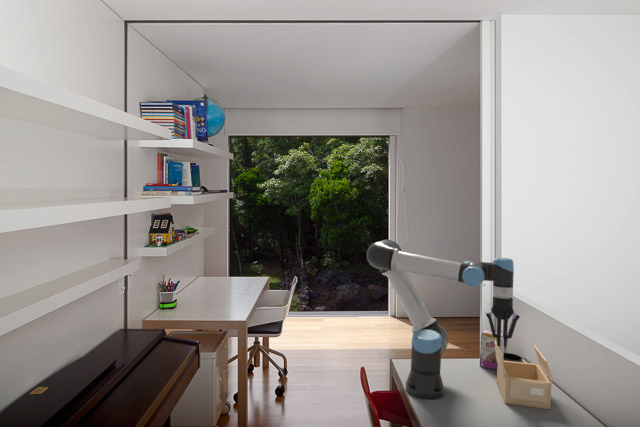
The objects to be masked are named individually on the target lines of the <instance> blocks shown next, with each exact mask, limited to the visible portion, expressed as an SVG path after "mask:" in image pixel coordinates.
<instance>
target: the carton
mask: <svg viewBox="0 0 640 427" xmlns="http://www.w3.org/2000/svg"><path fill="white" fill-rule="evenodd" d="M504 370H505V376H503V374H502V371H501V369H500V367H499V365H498V367H497V370H496V371H497V372H496V385H497V388H498V390H499V394H500V395H501V398H502V400H503V402H504V405H511V406H512V405H513V406H519V407H527V408H535V409H541V410H542V409H543V410H551V399H552V398H551V397H552V381H551V379H550V378H549V377H548V375H547V374H546V372H545V371H544V369H543V368H542V366H541V365H540V363H531V362H530V363H528V362H524V363H522V362H513V361H504Z"/></svg>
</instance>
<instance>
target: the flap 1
mask: <svg viewBox="0 0 640 427" xmlns="http://www.w3.org/2000/svg"><path fill="white" fill-rule="evenodd" d="M495 352H496V360H497V362H498V365H499V367H500V369H501V371H502V374H503V376H505V370H504V358H503V354H502V352H501V350H500V348H499V347H498V346H497V342H496V340H495Z"/></svg>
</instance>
